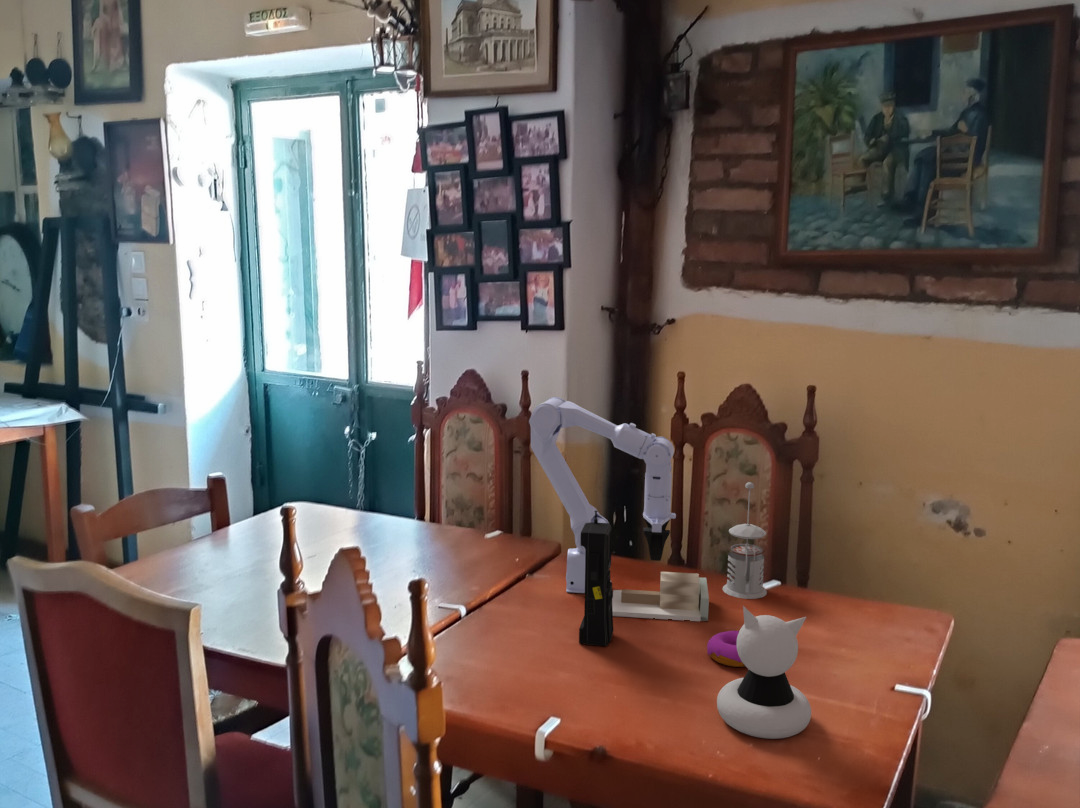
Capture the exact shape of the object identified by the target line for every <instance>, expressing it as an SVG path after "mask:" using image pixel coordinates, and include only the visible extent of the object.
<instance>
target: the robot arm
mask: <svg viewBox="0 0 1080 808" xmlns="http://www.w3.org/2000/svg"><path fill="white" fill-rule="evenodd" d="M528 424H529V425H530V448H531V450H532V452H533V453H534V456H535V458H536V460H537V461H538V463H539V465H540V466H541V468H542V470H543V471H544V474H545V475H546V477H547V479H548V480H549V482H550V484H551V486H552V487H553V489H554V491H555V492H556V495H557V496H558V498H559V500H560V502H561V503H562V505H563V507H564V508H565V511H566V512H567V514H568V515H569V519H570V529H571V531H572V532H573V535H574V542H575V543H574V544H575V546H576V548H568V549H567V557H566V574H565V581H566V590H565V592H566V593H576V594H585V548H584V547H583V546H581V531H582V529H583V527H584V525H585V523H590V522H594V519H595V512H594V511H598V509H597V508H596V507H594V506H593V505H592V504H590V503H589V500H588V498H587V497H586V495H585V493H584V492H583V489H582V487H581V486H580V484H579V483H578V481H577V479H576V477H575V476H574V474H573V472H572V470H571V468H570V466H569V465H568V464H567V463H568V462H566V459H565V458H564V456H563V454H562V452H561V450H560V449H559V448H558V446H557V440H558V437H559V434H560V432H561V429H565V428H570V427H580V428H583V429H585V430H587V431H590V432H592V433H595V434H597V435H599V436H603V437H604V438H607V439H609V440H610V441H611V443H612V444H613V448H616V449H618V450H620V451H622V452H624V453H627V454H629V455H630V456H633V457H635V458H638V459H640V460H643V461H644V463H645V473H644V478H645V479H644V500H643V502H644V504H643V505H644V506H643V512H642V516H643V517H642V518H643V519H644V521H645V524H646V527H643V529H642V530H643V535H644V536H645V538H646V542H647V546H648V552H649V558H650V561H657V562H660V561H661V560H662V557H663V553H664V548H665V544H666V541H667V539H668V537H669V536H670V534H671V530H669V529H666V528H667V526H668V524H669V522H670V520H671V519H673V520H674V519H676V517H677V514H676V513H675V512H671V510H672V509H671V508H672V505H671V504H672V482H673V481H672V479H673V478H672V477H673V474H672V469H673V467H672V458H673V456H674V454H675V448H674V445H673V443H672V442H671V441H670V440H669V439H668V438H666V437H665V436H657V435H656V434H655V433H653V432H652V433H648V432H646V431H644V430H642V429H639V428H637V425H636V424H635V423H633V422H630V423H629V424H628V423H626V422H625V423H622V424H619V425H617V424H615V423H613V422H611V421H609V420H607V419H606V418H604V417H601V416H599V415H597V414H595V413H593V412H591V411H590V410H587V409H585V408H583V407H582V406H580V405H578V404H576V403H574V402H572V401H569V400H564V399H563V398H562V397H559V396H556V397H555V396H553V397H550V398H548V399H547V400H545V401H544V402H542V403H539V404H538V405H536V406H535V407H534V408H533V411H532V413H531V415H530V418H529V420H528ZM597 520H598V523H609V524H610V521H608V519H606V518H605V517H604V516H603V515H601V514H600V512H599V511H598V512H597ZM610 582H612V580H611V579H610Z"/></svg>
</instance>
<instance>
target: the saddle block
mask: <svg viewBox="0 0 1080 808" xmlns="http://www.w3.org/2000/svg"><path fill="white" fill-rule="evenodd" d="M699 575H700V574H699V573H694V572H693V573H690V572H675V571H673V572H672V571H660V580H659V581H660V582H659V583H660V585H659V586H660V587H659V592H660V608H664V609H680V610H696V611H698V609H699V584H700V583H699V577H700V576H699Z"/></svg>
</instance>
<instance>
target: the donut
mask: <svg viewBox="0 0 1080 808" xmlns="http://www.w3.org/2000/svg"><path fill="white" fill-rule="evenodd" d="M739 631H740V630H728V631H727V630H726V631H722V632H719V633H716V634H714V635H713V636H712V637H710V639H708V642H707V645H706V649H707V655H709V656H710V657H711V659H713V661H715V662H717V663H719V664H722V665H724V666H728V667H734V668H736V667H737V668H743V667H746V666H745V665H744V664H743V662H742V661H741V659H740V657H739V655H738V651H737V636H738V633H739Z"/></svg>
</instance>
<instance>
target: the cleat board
mask: <svg viewBox="0 0 1080 808" xmlns="http://www.w3.org/2000/svg"><path fill="white" fill-rule="evenodd" d="M707 582H708V581H707V577H700V576H699V583H700V584H699V609H698V611H696V610H680V609H664V608H660V590H659V591H655V590H643V589H642V590H641V589H640V590H638V589H624V588H623V589H613V590H612V591H613V598H612V610H613V617H621V618H622V617H624V618H625V617H626V618H639V619H640V618H641V619H653V618H655V619H654V620H657V619H658V620H668V619H672V620H671V621H684V620H690V621H689V622H700V621H708V622H709V609H710V608H709V607H710V606H709V605H710V596H709V588H708V583H707Z"/></svg>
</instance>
